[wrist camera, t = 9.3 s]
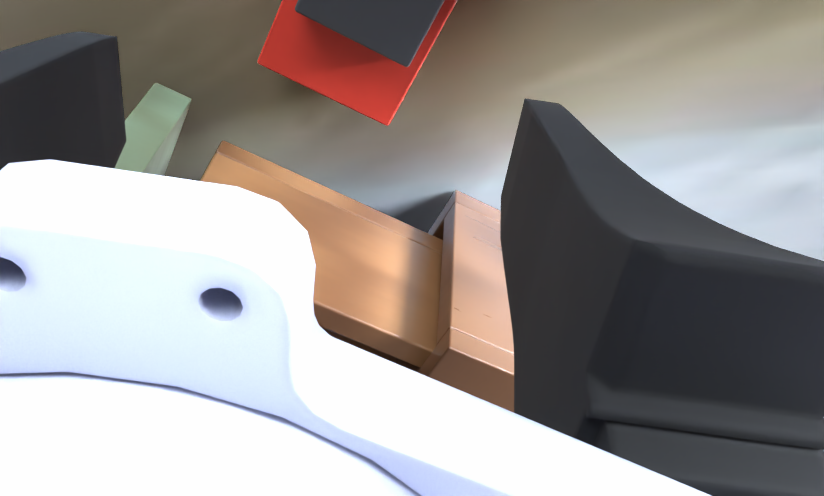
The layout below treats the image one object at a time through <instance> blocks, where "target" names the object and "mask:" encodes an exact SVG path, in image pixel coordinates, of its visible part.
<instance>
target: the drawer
mask: <svg viewBox="0 0 824 496" xmlns="http://www.w3.org/2000/svg"><path fill="white" fill-rule="evenodd" d="M190 104H191V98H189V97H186V96H184V95H182V94H180V93H178V92H176V91H173V90H171V89H169V88H167V87H165V86H163V85H160V84H158V83H154V85H153V86H152V87H151V88H150V90H149V91H148V92H147V93H146V95H145V96H144V97H143V98H142V100H141V101H140V102H139V103H138V105H137V106H136V107H135V108H134V110H133V111H132V112H131V113H130V115H129V116H128V117H127V118H126V120H125V130H126V143H125V145H124V148H123V150H122V152H121V154H120V157H119V159H118V161H117V164H116V166H115V168H114V169H119V170H126V171H133V172H140V173H147V174H154V175H161V176H164V175H165V172H166V170H167V167H168V164H169V161H170V159H171V156H172V153H173V150H174V148H175V145H176V142H177V139H178V137H179V134H180V131H181V128H182V126H183V123H184V120H185V117H186V115H187V112H188V109H189V106H190ZM200 181H202V182H209V183H216V184H223V185H230V186H237V187H239V188H242V189H245V190H247V191H250V192H253V193H256V194H258V195H261V196H264V197H266V198H269V199H272V200H274V201H277V202H279V203H280V204H281V205H282V206H283V207H284V208H285V209H286V210H287V211H288V212H289V213H290V214H291V215H292V216H293V217H294V218H295V219H296V220H297V221H298V222H299V223H300V224H301V225H302V226H303V227H304V228H305V229H306V230H307V231H308V235H309V239H310V244H311V248H312V252H313V256H314V260H315V264H316V269H315V282H314V294H313V305H314V315H315V317H316V320H317V322H318V324H319V326H320V327H321V328H322V329H323V330H325V331H326V332H327V333H328V334H329V335H330V336H332V337H334V338H336V339H339V340H341V341H344V342H346V343H348V344H351V345H353V346H356V347H358V348H360V349H363V350H365V351H367V352H370V353H372V354H375V355H377V356H379V357H382V358H384V359H387V360H389V361H391V362H394V363H396V364H398V365H401V366H403V367H406V368H408V369H410V370H413V371H415V372H418V371H419V369H420V368H421V366H422V365H423V364H424V362H425V361H426V360H427V358H428V357H429V356H430V354H431V353H432V352H433V350H434V349H435V348H436V346H437V334H438V317H439V300H440V283H441V266H442V250H443V240H441V239H439V238H437V237H435V236H432V235H430V234H428V233H426V232H424V231H421V230H419V229H417V228H415V227H413V226H410V225H408V224H406V223H404V222H402V221H399V220H397V219H395V218H393V217H391V216H388V215H386V214H384V213H382V212H380V211H377V210H375V209H373V208H371V207H369V206H367V205H364V204H362V203H360V202H358V201H356V200H353V199H351V198H349V197H347V196H345V195H342V194H340V193H338V192H336V191H334V190H331V189H329V188H327V187H325V186H323V185H320V184H318V183H316V182H314V181H312V180H309V179H307V178H305V177H303V176H301V175H298V174H296V173H294V172H292V171H290V170H287V169H285V168H283V167H281V166H279V165H276V164H274V163H272V162H270V161H268V160H265V159H263V158H261V157H259V156H257V155H254V154H252V153H250V152H248V151H246V150H243V149H241V148H239V147H237V146H235V145H233V144H230V143H228V142H226V141H222V142H221V143H220V145H219V147H218V148H217V150H216V152H215V154H214V156H213V157H212V159H211V161H210V163H209V165H208V167H207V168H206V170H205V172H204V174H203V176H202V177H201V179H200Z"/></svg>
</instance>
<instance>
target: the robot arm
mask: <svg viewBox="0 0 824 496" xmlns="http://www.w3.org/2000/svg"><path fill="white" fill-rule="evenodd" d="M125 143H126V130H125V119H124V108H123V97H122V86H121V75H120V64H119V53H118V42H117V37H115V36H109V35H102V34H95V33H89V32H71V33H66V34H61V35H57V36H52V37H49V38H45V39H41V40H37V41H34V42H30V43H27V44H24V45H20V46H17V47H13V48H10V49H6V50H3V51H0V496H824V451H823V450H824V261H821V260H818V259H814V258H811V257H808V256H804V255H801V254H798V253H794V252H791V251H788V250H784V249H781V248H778V247H775V246H772V245H770V244H767V243H765V242H762V241H759V240H757V239H754V238H752V237H749V236H747V235H744V234H742V233H739V232H737V231H735V230H732V229H730V228H728V227H726V226H723V225H721V224H719V223H717V222H715V221H713V220H711V219H709V218H707V217H705V216H703V215H701V214H699V213H698V212H696V211H694V210H692V209H690V208H688V207H686V206H685V205H683V204H681V203H679V202H678V201H676V200H675V199H673V198H671V197H670V196H668V195H667V194H665V193H664V192H662V191H661V190H659V189H658V188H656V187H655V186H653V185H652V184H650V183H649V182H647V181H646V180H645V179H643V178H642V177H641V176H639V175H638V174H637V173H636V172H634V171H633V170H632V169H631V168H629V167H628V166H627V165H626V164H624V163H623V162H622V161H621V160H620V159H619V158H617V157H616V156H615V155H614V154H613V153H612V152H611V151H609V150H608V149H607V148H606V147H605V146H604V145H603V144H602V143H601V142H600V141H599V140H598V139H597V138H596V137H595V136H593V135H592V134H591V133H590V132H589V131H588V130H587V129H586V128H585V127H584V126H583V125H582V124H581V123H580V122H579V121H578V120H577V119H576V118H575V117H574V116H573V115H572V114H571V113H570V112H569V111H568V110H567V109H565V108H564V107H563V106H562V105H560V104H558V103H551V102H545V101H538V100H531V99H525V100H524V104H523V108H522V112H521V116H520V121H519V125H518V129H517V133H516V137H515V141H514V145H513V149H512V153H511V158H510V162H509V166H508V170H507V174H506V178H505V182H504V186H503V190H502V195H501V220H500V240H501V248H502V256H503V264H504V272H505V279H506V286H507V294H508V301H509V308H510V316H511V323H512V331H513V344H514V413H513V412H511V411H508V410H506V409H503V408H501V407H499V406H496V405H494V404H492V403H489V402H487V401H484V400H482V399H480V398H477V397H475V396H472V395H470V394H468V393H465V392H463V391H461V390H458V389H456V388H453V387H451V386H449V385H446V384H444V383H441V382H439V381H437V380H434V379H432V378H430V377H427V376H425V375H422V374H420V373H418V372H415V371H413V370H410V369H408V368H406V367H403V366H401V365H398V364H396V363H394V362H391V361H389V360H387V359H384V358H382V357H379V356H377V355H375V354H372V353H370V352H367V351H365V350H363V349H360V348H358V347H356V346H353V345H351V344H348V343H346V342H344V341H341V340H339V339H336V338H334V337H332V336H330V335H329V334H328V333H327V332H326V331H325V330H323V329H322V328H321V327H320V326H319V324H318V322H317V320H316V317H315V315H314V305H313V294H314V282H315V269H316V264H315V260H314V256H313V252H312V248H311V244H310V239H309V235H308V231H307V230H306V229H305V228H304V227H303V226H302V225H301V224H300V223H299V222H298V221H297V220H296V219H295V218H294V217H293V216H292V215H291V214H290V213H289V212H288V211H287V210H286V209H285V208H284V207H283V206H282V205H281V204H280V203H279V202H277V201H274V200H272V199H269V198H266V197H264V196H261V195H258V194H256V193H253V192H250V191H247V190H245V189H242V188H239V187H237V186H230V185H223V184H216V183H209V182H202V181H195V180H188V179H181V178H175V177H168V176H161V175H154V174H147V173H140V172H133V171H126V170H119V169H114V168H115V166H116V164H117V161H118V159H119V157H120V154H121V152H122V150H123V148H124V145H125Z"/></svg>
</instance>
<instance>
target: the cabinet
mask: <svg viewBox="0 0 824 496" xmlns="http://www.w3.org/2000/svg"><path fill="white" fill-rule="evenodd" d="M500 220H501V211H500V210H498V209H495V208H493V207H491V206H489V205H487V204H485V203H483V202H481V201H478V200H476V199H474V198H472V197H470V196H468V195H466V194H464V193H462V192H459V191H457V190H455V191H454V193H453V194H452V196H451V197H450V199H449V201H448V202H447V204H446V205H445V207H444V208H443V210H442V211H441V213H440V214H439V216H438V218H437V219H436V221H435V222H434V224H433V225H432V227H431V228H430V230H429V231H428V234H430V235H432V236H435V237H437V238H439V239H441V240H443V250H442V266H441V283H440V300H439V317H438V334H437V346H436V348H435V349H434V350H433V352H432V353H431V354H430V356H429V357H428V358H427V360H426V361H425V362H424V364H423V365H422V366H421V368H420V369H419V371H418V373H420V374H422V375H425V376H427V377H430V378H432V379H434V380H437V381H439V382H441V383H444V384H446V385H449V386H451V387H453V388H456V389H458V390H461V391H463V392H465V393H468V394H470V395H472V396H475V397H477V398H480V399H482V400H484V401H487V402H489V403H492V404H494V405H496V406H499V407H501V408H503V409H506V410H508V411H511V412H513V413H514V344H513V331H512V323H511V316H510V308H509V301H508V294H507V286H506V279H505V272H504V264H503V256H502V248H501V240H500Z"/></svg>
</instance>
